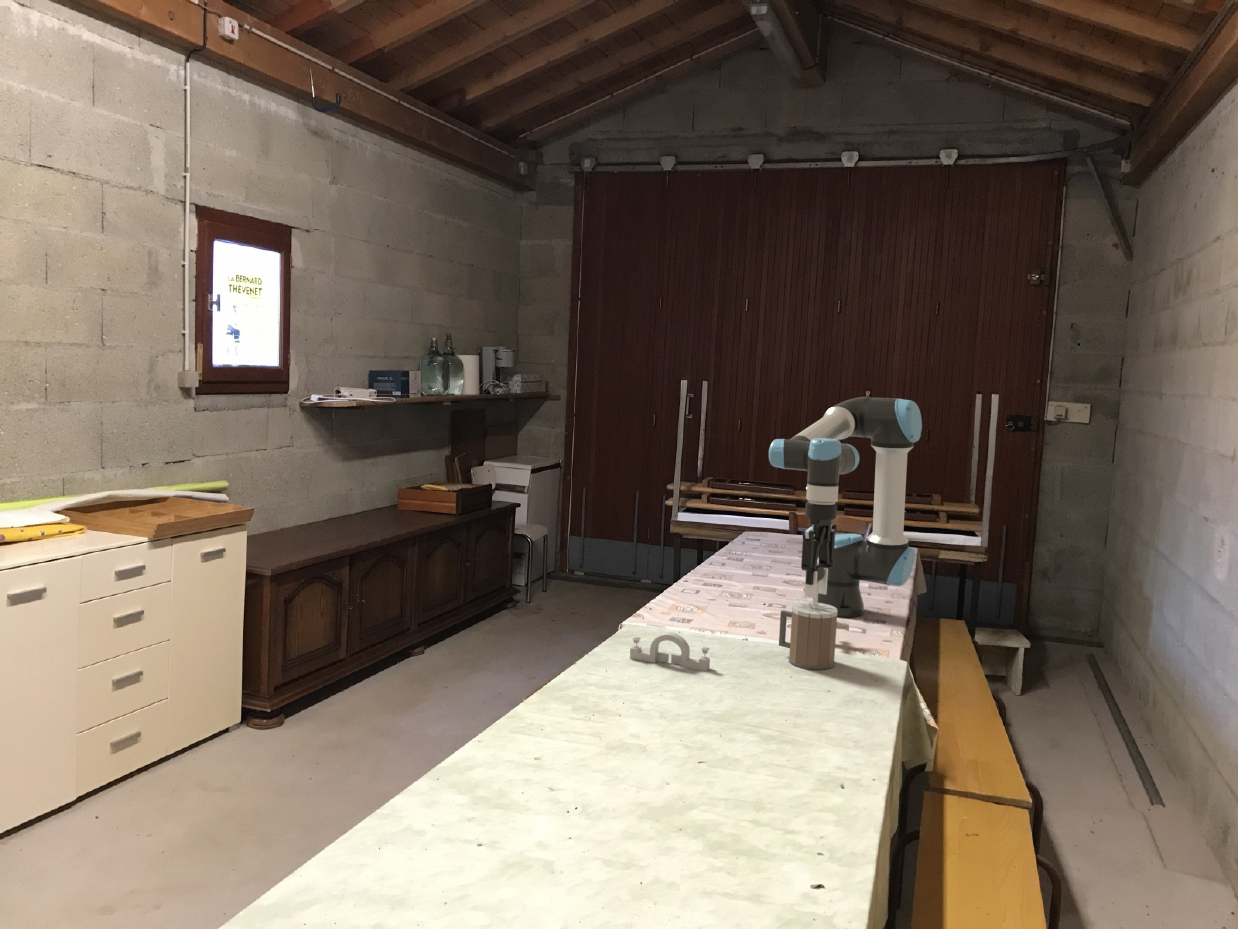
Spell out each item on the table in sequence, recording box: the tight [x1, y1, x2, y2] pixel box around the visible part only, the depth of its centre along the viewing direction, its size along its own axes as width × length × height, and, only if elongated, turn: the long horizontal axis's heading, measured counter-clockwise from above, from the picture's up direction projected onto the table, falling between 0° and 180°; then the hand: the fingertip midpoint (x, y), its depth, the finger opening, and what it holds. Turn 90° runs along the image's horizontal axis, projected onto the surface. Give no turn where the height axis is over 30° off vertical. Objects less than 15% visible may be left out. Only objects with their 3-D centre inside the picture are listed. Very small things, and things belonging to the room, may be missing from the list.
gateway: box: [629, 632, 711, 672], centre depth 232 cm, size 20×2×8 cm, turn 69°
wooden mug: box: [778, 601, 838, 671], centre depth 237 cm, size 11×14×14 cm
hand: (815, 595), depth 235 cm, fingers open, 5 cm apart
